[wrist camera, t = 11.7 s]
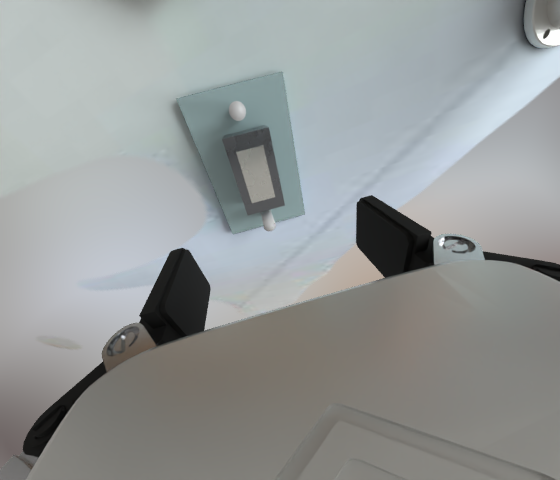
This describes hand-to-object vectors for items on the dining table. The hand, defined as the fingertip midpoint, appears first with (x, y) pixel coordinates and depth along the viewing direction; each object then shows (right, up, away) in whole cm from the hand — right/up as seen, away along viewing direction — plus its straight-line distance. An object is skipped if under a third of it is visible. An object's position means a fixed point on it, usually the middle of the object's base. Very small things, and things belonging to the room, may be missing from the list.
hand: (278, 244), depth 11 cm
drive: (-3, +10, +16) cm, 19 cm away
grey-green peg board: (-4, +11, +17) cm, 20 cm away
